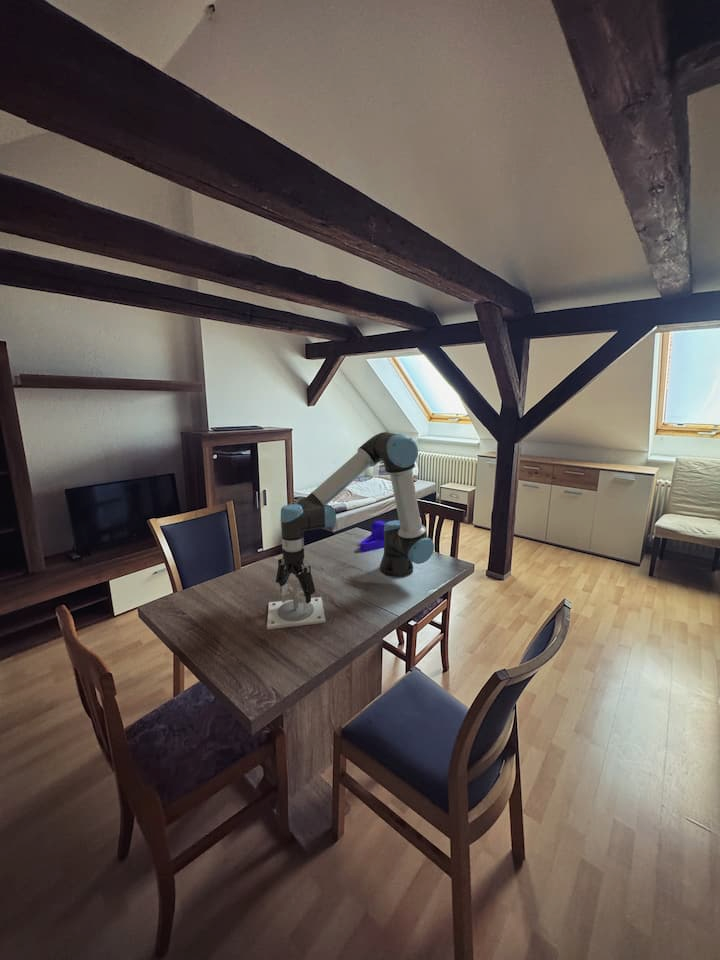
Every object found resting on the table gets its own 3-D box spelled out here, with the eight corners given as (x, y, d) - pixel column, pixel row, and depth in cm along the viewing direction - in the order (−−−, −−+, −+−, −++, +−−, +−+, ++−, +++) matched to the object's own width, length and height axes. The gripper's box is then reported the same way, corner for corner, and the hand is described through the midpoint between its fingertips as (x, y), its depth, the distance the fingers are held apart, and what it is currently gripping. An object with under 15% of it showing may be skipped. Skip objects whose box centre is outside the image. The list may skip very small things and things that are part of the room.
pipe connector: (314, 609, 137) (313, 584, 135) (288, 618, 132) (287, 592, 130) (302, 597, 145) (301, 573, 143) (277, 605, 140) (276, 580, 138)
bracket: (377, 539, 211) (377, 519, 208) (392, 544, 203) (392, 524, 201) (353, 548, 198) (353, 527, 196) (369, 554, 191) (369, 532, 188)
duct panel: (321, 599, 149) (321, 595, 148) (325, 622, 133) (325, 618, 133) (269, 604, 145) (268, 600, 145) (267, 629, 130) (266, 625, 129)
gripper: (263, 545, 137) (266, 601, 142) (310, 559, 124) (312, 620, 129) (278, 538, 143) (281, 592, 148) (324, 551, 130) (326, 610, 135)
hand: (295, 605), depth 138 cm, fingers closed on pipe connector, 10 cm apart
